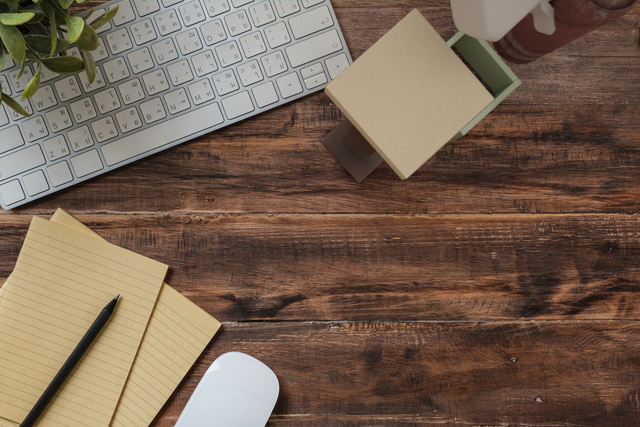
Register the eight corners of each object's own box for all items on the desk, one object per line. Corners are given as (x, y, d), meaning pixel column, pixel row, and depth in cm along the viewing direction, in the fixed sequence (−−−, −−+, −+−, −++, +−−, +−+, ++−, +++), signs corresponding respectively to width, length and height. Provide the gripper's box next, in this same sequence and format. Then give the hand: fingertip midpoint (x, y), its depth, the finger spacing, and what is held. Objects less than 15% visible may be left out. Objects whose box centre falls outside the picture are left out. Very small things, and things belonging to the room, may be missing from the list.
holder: (399, 86, 68) (410, 74, 62) (453, 38, 69) (469, 21, 63) (448, 142, 69) (463, 135, 63) (502, 94, 69) (522, 82, 63)
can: (476, 17, 48) (558, -54, 34) (534, -5, 48) (638, -85, 34) (498, 75, 48) (587, 29, 34) (554, 52, 48) (665, -3, 35)
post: (320, 141, 67) (340, 92, 40) (361, 104, 68) (410, 31, 41) (357, 183, 68) (403, 163, 41) (399, 146, 68) (471, 101, 41)
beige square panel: (323, 91, 40) (325, 86, 39) (411, 14, 41) (415, 7, 39) (402, 180, 41) (406, 178, 39) (487, 103, 41) (495, 98, 40)
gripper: (479, -66, 27) (511, 106, 37) (727, -290, 28) (692, -64, 38) (405, -78, 31) (452, 79, 41) (624, -271, 32) (617, -73, 42)
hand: (569, 9), depth 40 cm, fingers closed on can, 3 cm apart
